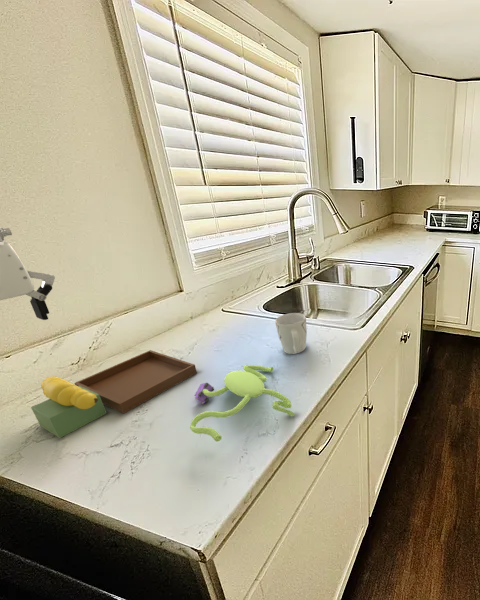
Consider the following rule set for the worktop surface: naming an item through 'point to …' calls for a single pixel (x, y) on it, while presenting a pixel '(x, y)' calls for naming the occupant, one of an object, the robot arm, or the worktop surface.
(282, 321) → the mug
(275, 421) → the worktop surface
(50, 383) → the yellow stacked capsules
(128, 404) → the tray
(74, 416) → the block
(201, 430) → the figurine
